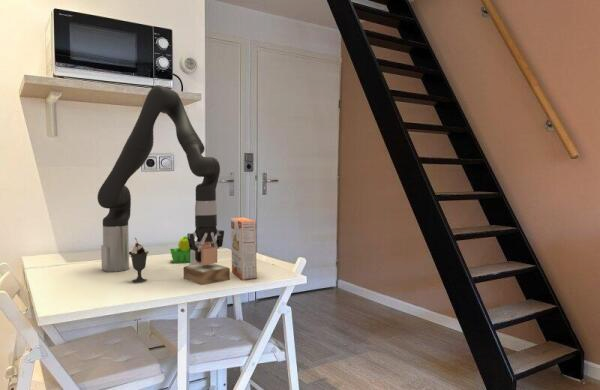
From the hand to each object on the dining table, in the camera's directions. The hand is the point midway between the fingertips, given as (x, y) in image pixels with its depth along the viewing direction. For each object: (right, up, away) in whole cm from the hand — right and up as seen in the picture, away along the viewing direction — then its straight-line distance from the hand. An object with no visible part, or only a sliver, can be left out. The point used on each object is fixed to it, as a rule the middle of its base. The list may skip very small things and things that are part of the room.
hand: (206, 260), depth 157 cm
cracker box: (+13, -7, +5) cm, 15 cm away
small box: (-8, -6, +25) cm, 26 cm away
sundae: (-23, -7, -3) cm, 24 cm away
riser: (0, -7, 0) cm, 7 cm away
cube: (0, -1, 0) cm, 1 cm away
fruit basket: (-16, -5, +31) cm, 35 cm away
